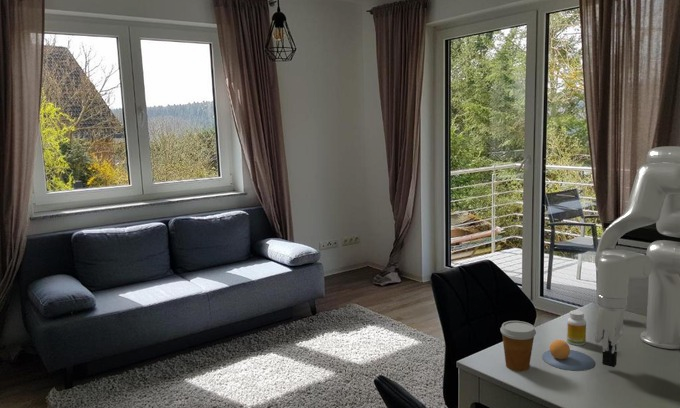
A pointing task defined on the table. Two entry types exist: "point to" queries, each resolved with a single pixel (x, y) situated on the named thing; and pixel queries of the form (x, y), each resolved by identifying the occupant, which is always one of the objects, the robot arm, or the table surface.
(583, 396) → the table surface
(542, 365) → the table surface
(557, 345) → the ball
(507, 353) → the disposable coffee cup
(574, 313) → the supplement bottle
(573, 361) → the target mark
